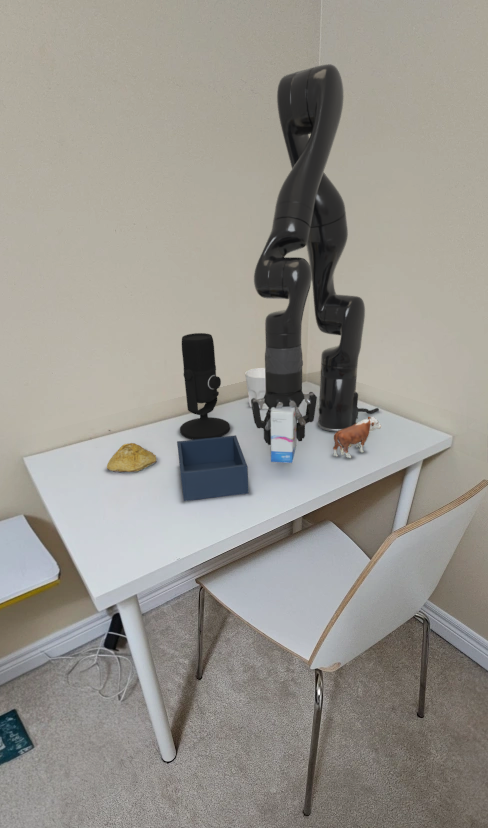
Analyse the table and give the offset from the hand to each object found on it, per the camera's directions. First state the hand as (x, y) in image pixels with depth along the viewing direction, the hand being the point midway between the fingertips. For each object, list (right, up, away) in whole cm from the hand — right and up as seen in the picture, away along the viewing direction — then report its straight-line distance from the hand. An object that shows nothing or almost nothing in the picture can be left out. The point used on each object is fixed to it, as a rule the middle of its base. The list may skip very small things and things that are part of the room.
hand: (284, 441), depth 104 cm
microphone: (-20, +5, +26) cm, 33 cm away
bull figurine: (+18, -2, +11) cm, 21 cm away
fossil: (-36, -5, +9) cm, 37 cm away
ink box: (0, -3, +2) cm, 3 cm away
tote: (-16, -8, +1) cm, 18 cm away
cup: (-4, +15, +41) cm, 44 cm away
